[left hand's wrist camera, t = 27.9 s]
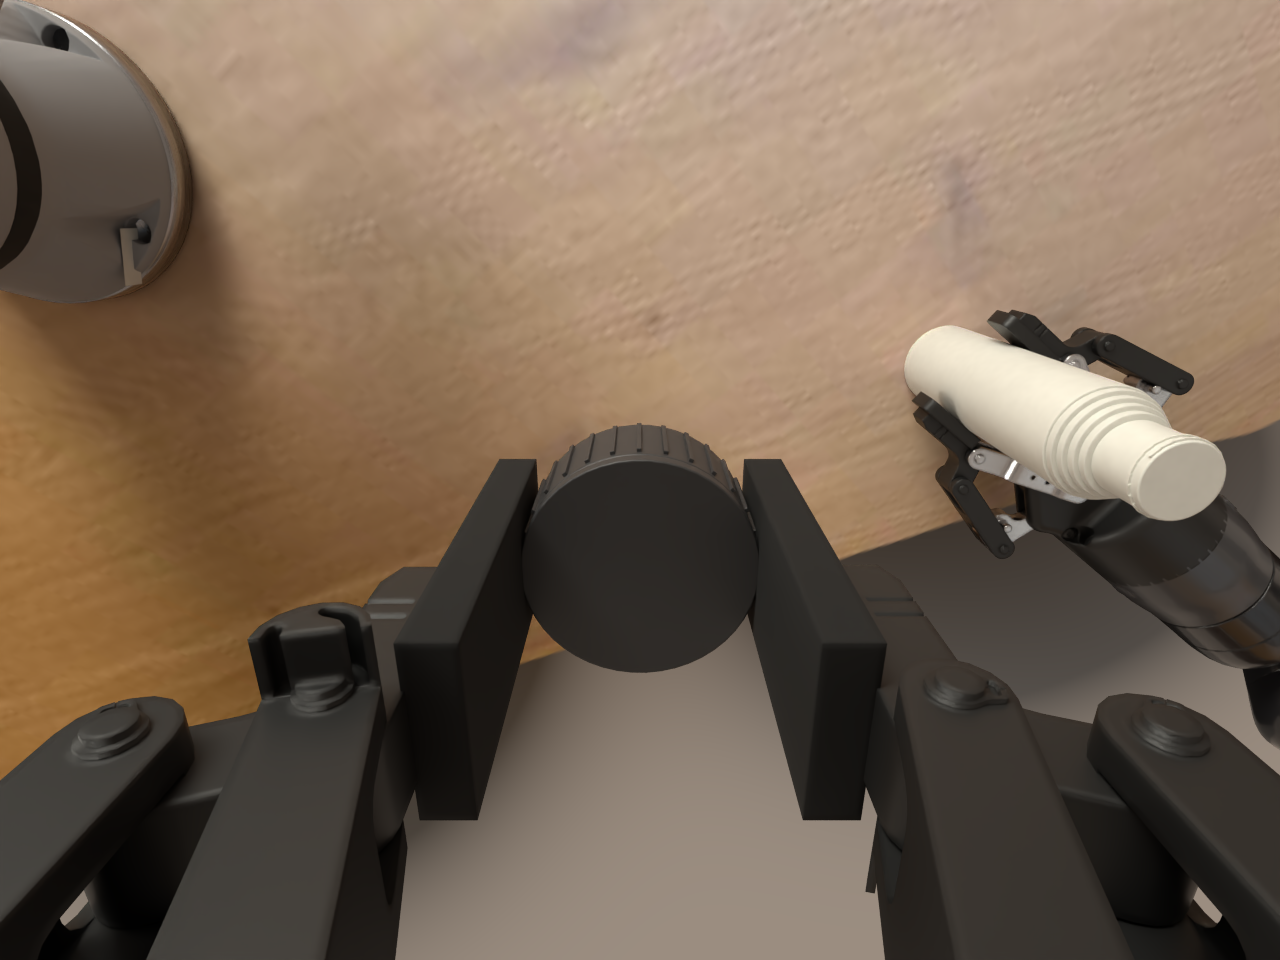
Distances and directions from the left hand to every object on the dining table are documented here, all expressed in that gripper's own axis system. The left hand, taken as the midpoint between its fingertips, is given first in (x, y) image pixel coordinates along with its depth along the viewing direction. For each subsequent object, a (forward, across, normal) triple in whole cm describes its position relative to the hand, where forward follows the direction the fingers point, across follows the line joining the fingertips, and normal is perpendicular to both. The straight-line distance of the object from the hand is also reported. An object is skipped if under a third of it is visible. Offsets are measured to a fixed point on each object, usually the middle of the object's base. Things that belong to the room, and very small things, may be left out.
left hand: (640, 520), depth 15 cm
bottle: (+30, +19, -3) cm, 36 cm away
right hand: (+24, +17, -1) cm, 29 cm away
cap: (-2, 0, 0) cm, 2 cm away
